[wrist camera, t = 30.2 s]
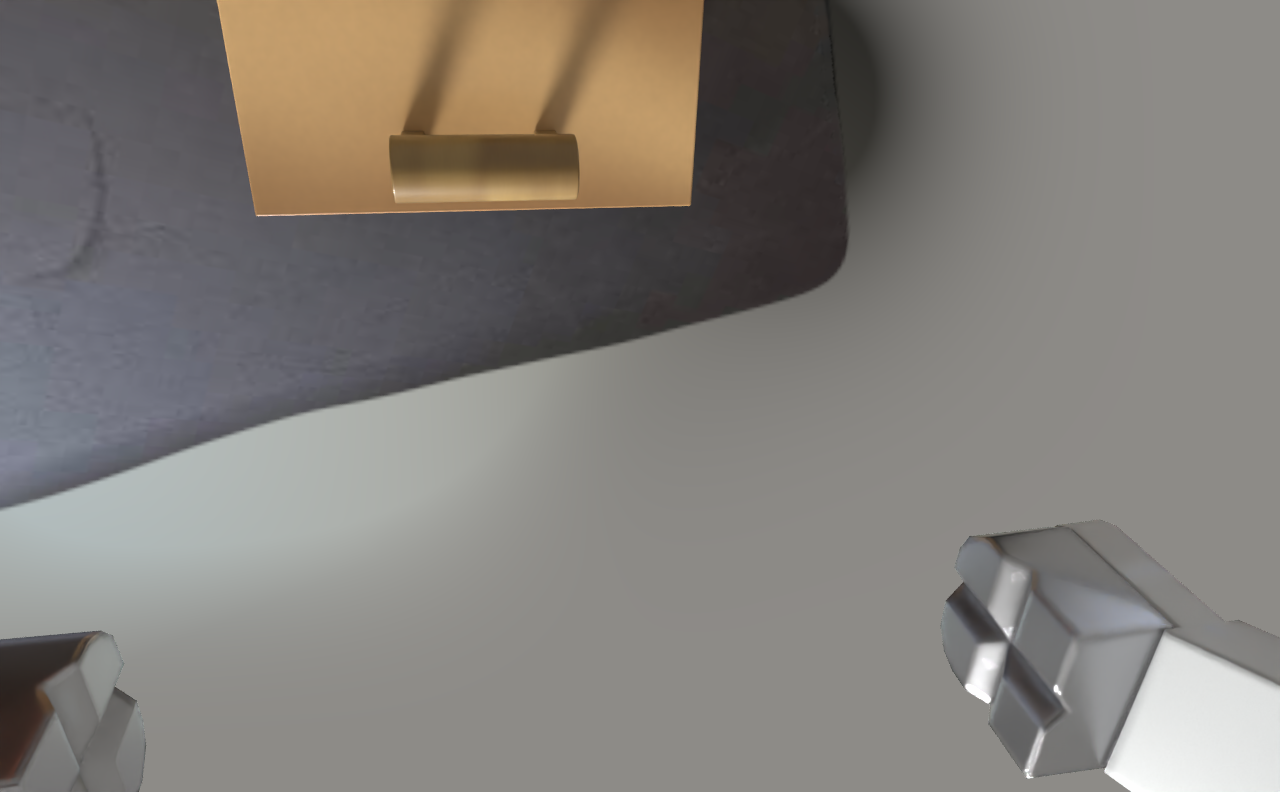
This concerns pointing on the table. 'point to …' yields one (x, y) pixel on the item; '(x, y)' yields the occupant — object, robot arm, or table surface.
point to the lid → (464, 103)
